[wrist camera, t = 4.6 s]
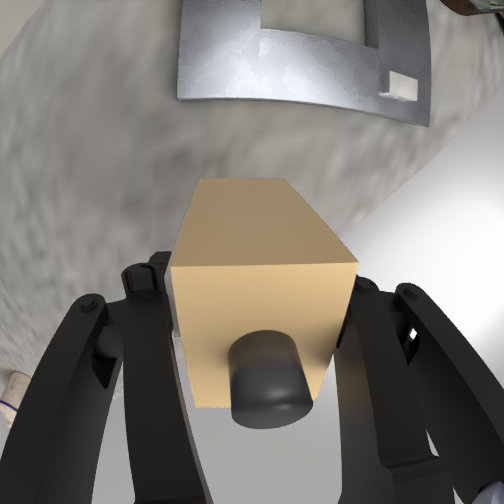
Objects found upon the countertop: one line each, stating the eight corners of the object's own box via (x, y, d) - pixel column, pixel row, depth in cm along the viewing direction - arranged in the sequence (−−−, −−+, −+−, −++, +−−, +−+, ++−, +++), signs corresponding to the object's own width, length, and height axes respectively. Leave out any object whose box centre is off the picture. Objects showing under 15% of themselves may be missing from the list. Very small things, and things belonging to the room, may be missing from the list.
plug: (203, 276, 17) (195, 454, 7) (199, 178, 14) (154, 327, 4) (276, 275, 17) (329, 442, 8) (284, 178, 14) (398, 312, 5)
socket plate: (182, 101, 20) (174, 98, 17) (198, -67, 11) (195, -85, 8) (414, 124, 22) (435, 128, 19) (406, -29, 13) (423, -38, 10)
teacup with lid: (39, 401, 39) (24, 441, 29) (8, 375, 36) (-11, 415, 25) (58, 391, 37) (40, 440, 27) (21, 361, 33) (-2, 409, 23)
